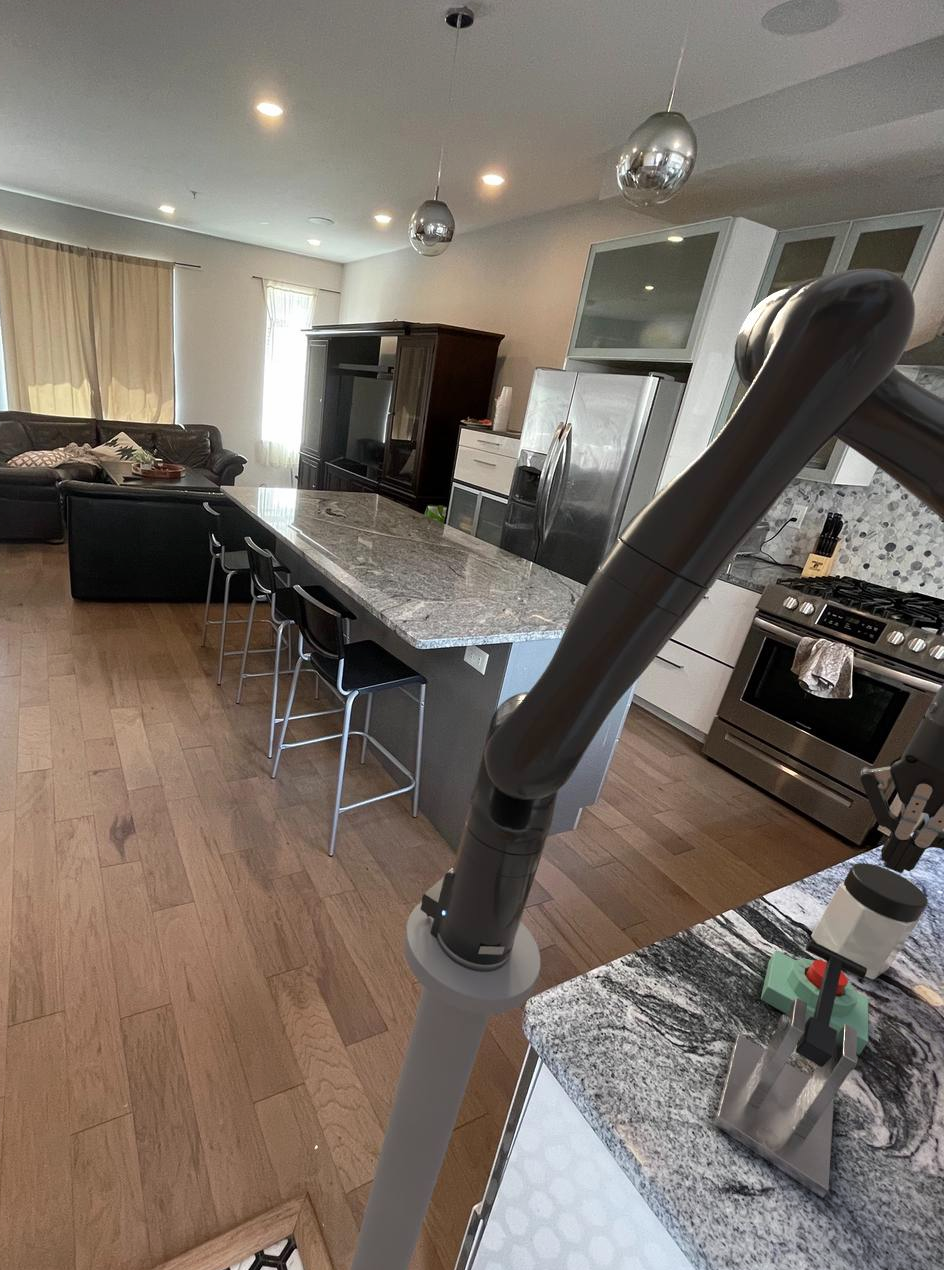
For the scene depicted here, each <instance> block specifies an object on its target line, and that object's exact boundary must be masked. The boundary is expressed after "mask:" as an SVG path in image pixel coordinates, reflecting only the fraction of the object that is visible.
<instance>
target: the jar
mask: <svg viewBox="0 0 944 1270" xmlns="http://www.w3.org/2000/svg"><path fill="white" fill-rule="evenodd" d="M928 903H929V900H928V898H927V895H926V894H925V893H924V892H923V891H922V889H920V888H919V887H918V886H917V885H916V884H914V883H913V882H912V881H910V880H909V879H907V878H905V877H904V876H902V875H900V874H899V873H897V872H895V871H893V870H891V869H888V868H886V867H881V866H879V865H876V864H871V863H867V862H859V863H855V864H853V865H852V866H851V868H850V869H849V871H848V873H847V875H846V877H845V878H844V880H843V882H841V883H840V884H838V886H837V888H836V890H835V892H834V893H833V895H832V897H831V898H830V900H829V903H828V904H827V906H826V907H825V910H824V911H823V913H822V915H821V917H820V918H819V921H818V923H817V924H816V926H815V927H814V929H813V931H812V933H811V935H810V937H811V939H812V941H814V942H816V943H818V944H820V945H822V946H824V947H826V948H828V949H830V950H832V951H834V952H836V953H838V954H840V955H842V956H844V957H846V958H848V959H850V960H852V961H854V962H856V963H858V964H860V965H862V966H864V967H866V968H867V972H866V975H865V977H864V978H867V979H870V980H875V979H876V978H878V977H880V976H881V975H882V974H884V973H885V972H886V971H887V970H889V969H890V967H891V965H892V964H893V963H894V961H895V959H896V958H897V956H898V954H899V953H900V951H901V950H902V948H903V946H904V945H905V944H906V942H907V940H908V939H909V938H910V936H911V934H912V933H913V931H914V929H915V928H916V926H917V924H918V923H919V921H920V920H921V918H922V915H923V912H924V911H925V909H926V908H927V906H928Z"/></svg>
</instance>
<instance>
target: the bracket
mask: <svg viewBox="0 0 944 1270" xmlns="http://www.w3.org/2000/svg"><path fill="white" fill-rule="evenodd" d="M806 1012H807V1003H806V1002H804V1001H802V1000H800V999H799V998H797V997H796V998H795V1000H794V1001H793V1003H792V1005H791V1007H790V1008H789V1010H788V1012H787V1014H785V1013H783V1014H782V1015H781V1016H780V1018H779V1020H778V1023H777V1029H776V1031H775V1033H774V1034H773V1036H772V1038H771V1039H770V1042H769V1043H768V1045H767V1046H766V1049H765V1048H762V1047H761V1046H759V1045H758V1044H756V1043H754V1042H753V1041H751V1040H750V1039H748V1038H746V1037H745V1036H743V1035H741V1034H739V1033H738V1034H737V1036H736V1038H735V1040H734V1042H733V1046H732V1050H731V1054H730V1058H729V1061H728V1066H727V1070H726V1074H725V1077H724V1078H725V1079H724V1083H723V1087H722V1090H721V1094H720V1098H719V1102H718V1105H717V1106H718V1107H717V1109H716V1113H715V1114H716V1115H715V1118H714V1122H713V1125H714V1126H715V1127H717V1128H718V1129H720V1130H721V1131H723V1132H724V1133H726V1134H727V1135H729V1136H730V1137H731V1138H733V1139H734V1140H736V1141H738V1142H739V1143H741V1144H742V1145H743V1146H745V1147H746V1148H748V1149H749V1150H751V1151H752V1152H754V1153H755V1154H757V1155H758V1156H759V1157H761V1158H763V1159H764V1160H766V1161H767V1162H768V1163H770V1164H771V1165H773V1166H774V1167H776V1168H777V1169H778V1170H780V1171H782V1172H783V1173H785V1175H787V1176H789V1177H790V1178H792V1179H793V1180H795V1181H796V1182H798V1183H800V1184H801V1185H802V1186H804V1187H806V1188H807V1189H808V1190H809V1191H811V1192H812V1193H814V1194H815V1195H816V1196H818V1197H820V1198H821V1199H824V1197H825V1196H826V1195H827V1193H828V1192H829V1189H830V1188H829V1187H830V1172H831V1171H830V1170H831V1155H832V1153H831V1152H832V1138H833V1121H834V1120H833V1119H834V1102H835V1095H836V1094H837V1092H838V1091H839V1090H840V1088H841V1086H843V1083H844V1082H845V1081H846V1079H847V1078H848V1076H849V1074H851V1071H854V1069H855V1068H856V1066H857V1064H858V1060H859V1057H858V1054H857V1053H856V1045H857V1030H855V1029H853V1028H852V1027H850V1026H848V1025H846V1024H844V1026H843V1027H842V1029H841V1030H840V1032H839V1033H838V1035H837V1037H836V1041H835V1046H834V1051H833V1056H832V1057H831V1058H830V1060H829V1061H828V1062H827V1063H826V1064H825V1065H824V1066H823V1067H820V1066H819V1065H817V1067H816V1069H815V1070H814V1072H813V1073H812V1075H811V1076H810V1075H808V1074H806V1073H805V1072H803V1071H802V1070H800V1069H798V1068H796V1067H795V1066H793V1065H791V1064H789V1063H788V1061H789V1059H790V1057H791V1055H792V1054H793V1052H794V1051H795V1050H796V1048H797V1044H798V1042H799V1040H800V1039H801V1037H802V1035H803V1034H804V1028H805V1020H806Z"/></svg>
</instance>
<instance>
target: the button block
mask: <svg viewBox="0 0 944 1270" xmlns="http://www.w3.org/2000/svg"><path fill="white" fill-rule="evenodd" d="M813 961H815V960H813V959H808V958H805V957H804V958H800V959H794V958H793V957H791V956H788V955H786V954H784V953H783V952H780V951H778V950H777V949H775V950H774V951H773V953H772V955H771V957H770V959H769V961H768V964H767V968H766V971H765V977H764V981H763V985H762V990H761V991H762V992H761V996H760V1001H762V1002H764V1003H766V1004H768V1005H769V1006H771V1007H773V1008H774V1009H777V1010H778V1011H780V1012H782V1013H783V1014H784V1015H786V1014H787V1012H788V1010H789V1008H790V1007H791V1005H792V1003H793V1001H794V1000H795V998H796V997H797V998H799V999H800V1000H802V1001H804V1002H806V1003H807V1012H806V1020H805V1023H806V1021H807V1020H808V1019H809V1018H810V1017H814V1012H815V1008H816V1004H817V1000H818V996H819V992H820V990H819V989H818V988H817V987H815V986H814V985H813V984H812V983H811V982H810V981H809V980H808V978H807V975H806V974H807V971H808V970H809V968H810V966H811V964H812V963H813ZM844 1024H846V1025H848V1026H850V1027H852V1028H853V1029H855V1030H857V1045H856V1055H857V1056H860V1055H861V1054H862V1052H863V1050H864V1049H865V1048H866V1046H867V1044H868V1043H869V997H868V996H865V995H864V994H862V993H860V992H858V991H856V990H855V988H854V987H853V985H852V984H851V982H850V981H849V980H848V983H847V985H846V987H845V988H844V990H843V992H842V993H841V995H839V996H835V1001H834V1005H833V1010H832V1014H831V1019H830V1023H829V1027H831V1028H833V1029H835V1030H837V1035H838V1033H839V1032H840V1030H841V1029H842V1027H843V1026H844Z"/></svg>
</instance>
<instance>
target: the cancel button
mask: <svg viewBox="0 0 944 1270" xmlns="http://www.w3.org/2000/svg"><path fill="white" fill-rule="evenodd" d="M826 963H827V961H826V960H822V959H816V960H814V961H813V963H812V964H811V966H810V968H809V970H808V971H807V974H806V975H807V978H808V980H809V981H810V982H811V983H812V984H813V985H814V986H815V987H817V988H818V989H819V990H820V988H821V984H822V979H823V975H824V971H825V967H826ZM848 981H849V980H848V977H847V976H846V974H845V973H844V972H843V971H842V970H841V974H840V978H839V983H838V987H837V992H836V996H839V995H841V993H842V992H843V990H844V988H845V987H846V985H847V983H848Z"/></svg>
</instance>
